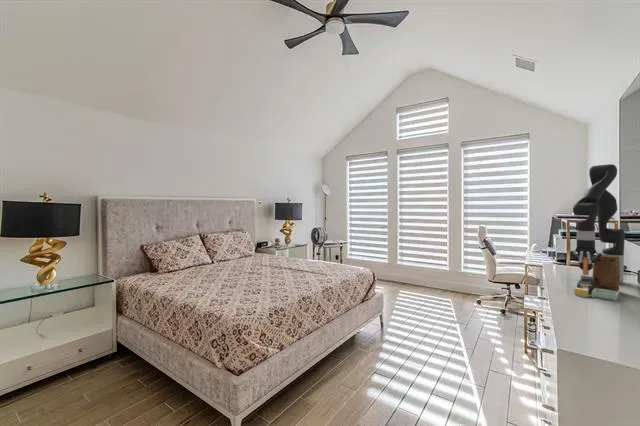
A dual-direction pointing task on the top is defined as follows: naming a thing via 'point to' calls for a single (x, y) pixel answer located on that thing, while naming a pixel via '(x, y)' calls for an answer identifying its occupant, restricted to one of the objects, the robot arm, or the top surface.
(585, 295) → the block
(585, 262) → the pin
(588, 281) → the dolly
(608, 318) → the top surface
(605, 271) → the brown rounded block
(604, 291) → the tray
